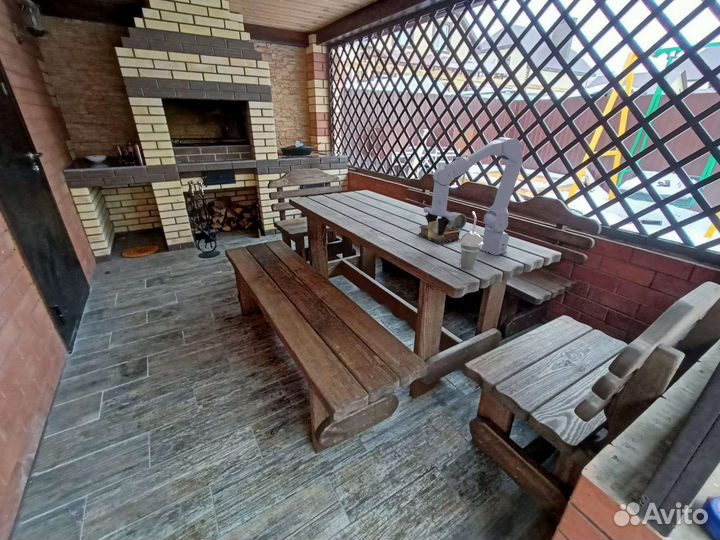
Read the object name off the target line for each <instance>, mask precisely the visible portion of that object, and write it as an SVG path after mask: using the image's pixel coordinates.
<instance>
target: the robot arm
mask: <svg viewBox="0 0 720 540" xmlns="http://www.w3.org/2000/svg"><path fill="white" fill-rule="evenodd" d="M523 147H524V146H523V145H522V143H521V142H520V140H519V139H517V138H516V137H512V138H509V137H505V136H500V137H498V138H496V139H494V140H491V141H490V142H488V143H487V144H486V145H484V146H483V147H481V148H480V149H478V150H476V151H474V152H473V153H471V154H470V155H468V156H467V157H465V156H457V157H455V160H453V161H452V162H450V163H448V164H446V163H445V164H444V165H443V167H439V168H437V169H435V170H434V172H433V174H432V179H433V181H434V183H433V189H432V190H433V193H432V202H431V207H430V206H429V207H428V206H426V207H423V213H427V214H424V215H425V216H424V217H425V219H426V222H427V225H428V226H429V222H432V221H437V220H438V226H439V229H438V235H439V236H440V235H443V233H444V231H445V229H446V227H447V226H449V225H448V223H449V222H450V221H451V220H454V215H453V214H451V212H448V211H447V206H448V198H449V192H450V191H449V190H450V184H451V183H452V182H453V179H455V178H457V177H459V176H461V175H462V174H464V173H466V172H468V171H469V170H470V168H471V166H472V165H474V164H476V163H479V162H480V161H482V160H484V159H486V158H488V157H490V156H498V157H500V158H501V160H503V162H504V164H505V168H504V169H503V173H502V176H501V179H500V182H499V186H498V189H497V192H496V195H495V198H494V201H493V204H492V205H491V206H490V207H488V211H486V213H485V214H484V216H483V223H484V224H485V226H484V231H483V237H482V241H483V242H484V243H483V244H484V245H483V246H481V248H480V250H479V251H482V250H483V252H485V251H486V252H485V253H488V252H489V253H488V254H490V253H491V255H494V256H498V255H501V254H504V253H507V252H508V250H507V248H508V243H509V239H510V237H509V234H508V233H507V232H505V230H506V229H507V227H508V226H509V215H510V213H509V211H508V206H509V204H510V201H511V198H512V194H513V192H514V189H515V186H516V184H517V180H518V177H519V174H520V172H521V169H522V165H523V153H522V150H523ZM438 217H439V218H438Z"/></svg>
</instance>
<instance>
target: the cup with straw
mask: <svg viewBox="0 0 720 540" xmlns="http://www.w3.org/2000/svg"><path fill="white" fill-rule="evenodd" d="M471 213H472V216H473V219H474V221H473V225H472V226H473V227H472V231H471V230H470V231H466V232H465V233H464V234H463V235H462V237H461V238H460V237H459V240H458V243H459V244H460V268H461V269H462V270H464V271H472V270H471V269H473V270H474V267H475V265H476V261H477V258H478V255H479V253H480V251H481V250H480V248H481V246H483V245H484V244H483V243H484V242H483V238H482V237H481V235H480V233H478V232H476V230H475V229H476V224H477V215H476V213H475V211H472V212H471Z"/></svg>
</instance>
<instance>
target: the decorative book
mask: <svg viewBox="0 0 720 540" xmlns="http://www.w3.org/2000/svg"><path fill="white" fill-rule="evenodd" d="M419 229H420V232H419V233H418V235H419V236H421V237H424V238H427V239H428V240H429V241H431V240H432V241H434V242H435V243H438V244H439V245H446V244H447V243H450V242H455V241H459V240H460V233H461V232H460V231H459V230H457V229H455V228H453V227H451V228H448V227H446V229H445V231H444V237H443V238H439V239H434V238H431V237H429V236H428V230H429V226H428V224H427V225H426V224H424V225H420V226H419Z"/></svg>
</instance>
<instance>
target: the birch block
mask: <svg viewBox="0 0 720 540" xmlns="http://www.w3.org/2000/svg"><path fill="white" fill-rule="evenodd" d="M438 229H439V226H438V220H436V221H432V222H429V230H428V236H429V237H431V238H434V239H439V238H443V237H444V233H443V235H440V236H439V235H438Z"/></svg>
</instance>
